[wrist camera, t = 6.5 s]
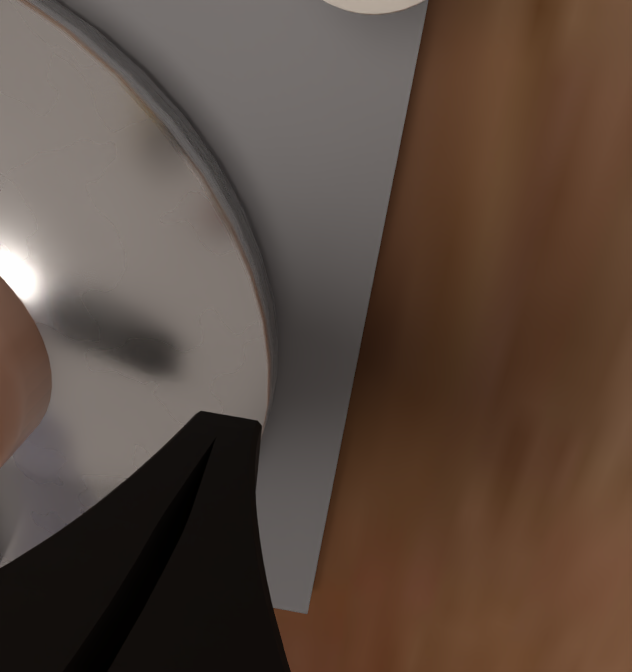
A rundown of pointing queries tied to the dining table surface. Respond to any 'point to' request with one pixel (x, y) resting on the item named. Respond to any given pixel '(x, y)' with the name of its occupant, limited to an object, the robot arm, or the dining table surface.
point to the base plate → (292, 202)
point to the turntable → (116, 269)
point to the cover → (20, 373)
